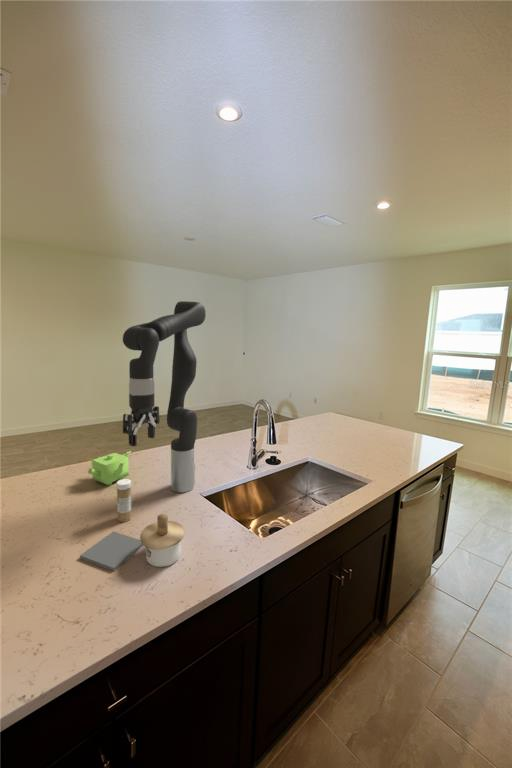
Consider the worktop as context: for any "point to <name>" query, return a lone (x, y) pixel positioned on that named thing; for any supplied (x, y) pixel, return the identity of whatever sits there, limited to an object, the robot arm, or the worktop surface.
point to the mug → (163, 555)
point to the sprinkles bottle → (124, 500)
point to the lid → (162, 533)
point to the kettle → (110, 468)
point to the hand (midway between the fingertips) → (142, 441)
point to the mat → (112, 551)
